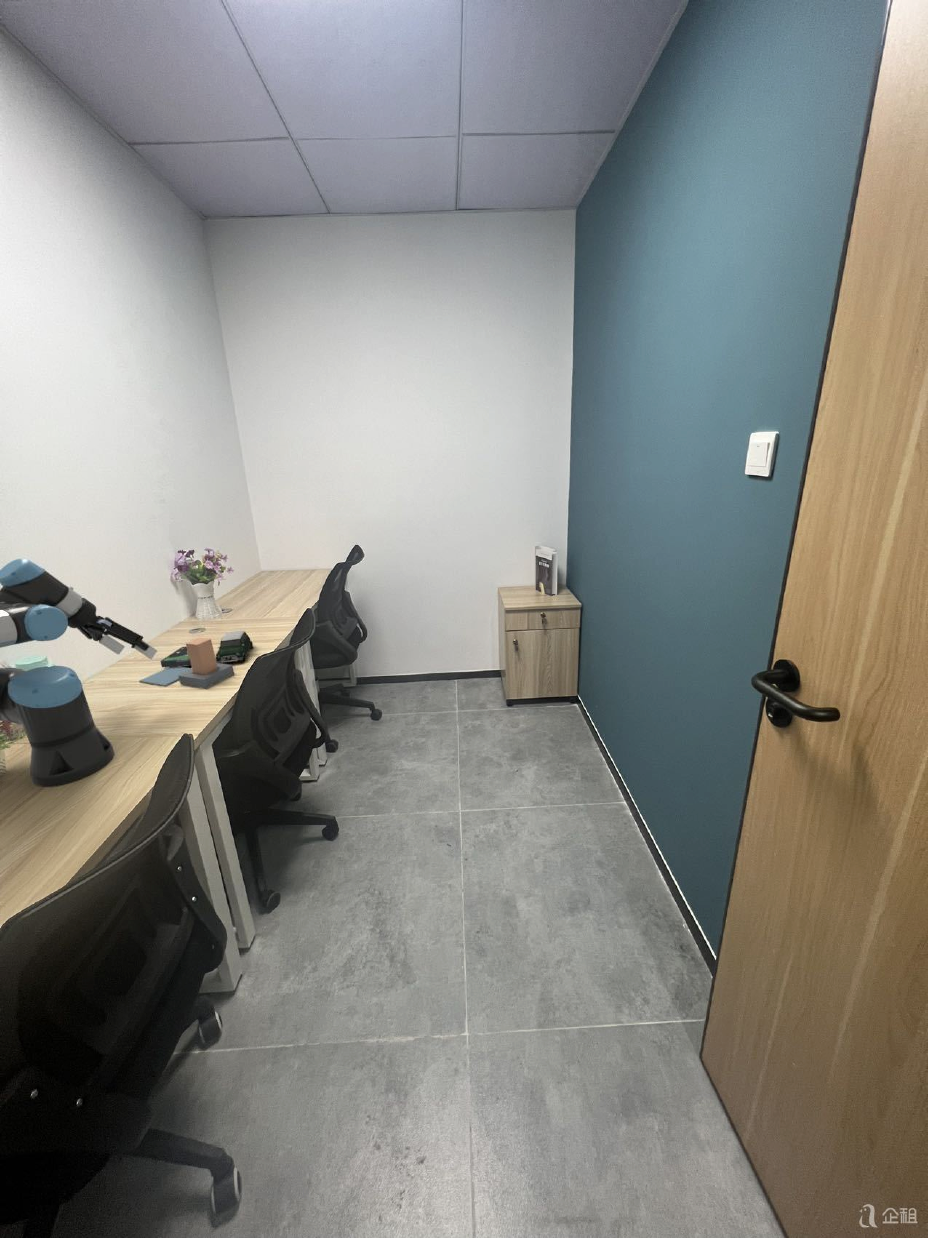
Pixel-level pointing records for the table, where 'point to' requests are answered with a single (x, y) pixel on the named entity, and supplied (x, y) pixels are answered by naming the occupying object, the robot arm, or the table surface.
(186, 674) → the pocket holder
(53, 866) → the table surface
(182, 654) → the disk drive
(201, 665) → the terracotta block
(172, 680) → the rubber mat
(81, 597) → the robot arm
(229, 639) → the miniature car
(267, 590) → the table surface
